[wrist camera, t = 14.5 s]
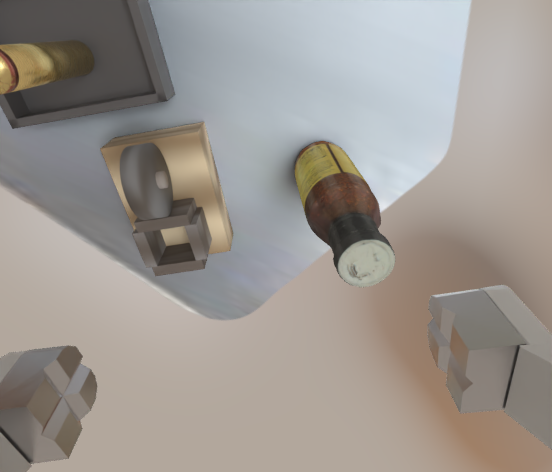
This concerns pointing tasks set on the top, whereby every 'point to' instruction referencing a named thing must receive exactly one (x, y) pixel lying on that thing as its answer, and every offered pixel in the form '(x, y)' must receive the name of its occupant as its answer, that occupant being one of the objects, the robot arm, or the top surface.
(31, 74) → the pin
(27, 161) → the top surface
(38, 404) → the robot arm
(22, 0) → the tray
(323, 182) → the sauce bottle
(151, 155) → the block
